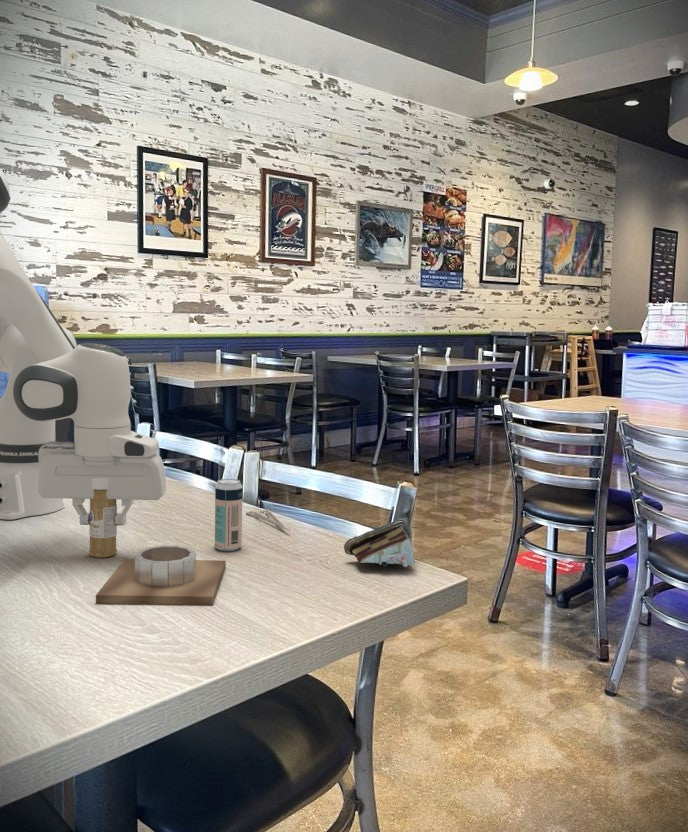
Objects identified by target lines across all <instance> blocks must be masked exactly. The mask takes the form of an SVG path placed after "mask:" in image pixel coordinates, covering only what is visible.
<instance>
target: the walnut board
mask: <svg viewBox="0 0 688 832" xmlns="http://www.w3.org/2000/svg"><path fill="white" fill-rule="evenodd" d="M226 563H227V561H226V560H221V559H220V560H213V559H212V560H211V559H209V560H206V559H205V560H203V559H196V575H195V578H194V579H193V580H192V581H189V582H187V583H185V584H181V585H175V586H169V587H156V586H148V585H144V584H140V583H139V582H138V581H137V580H136V579H135V558H125V559H123V561H122V562H121V563H120V564H119V566H118V567H117V568H116V569H115V571H114V572H113V573H112V574H111V575H110V576H109V578H108V579H107V580H106V582H105V583H104V584H103V585H102V587H101V588H100V589H99V591H97V593H96V594H95V604H103V605H106V604H107V605H108V604H109V605H111V604H112V605H117V604H119V605H121V604H122V605H177V606H179V605H187V606H188V605H189V606H191V605H192V606H194V605H195V606H197V605H198V606H199V605H201V606H213V605H214V604H215V603H214V602H215V599H216V597H217V593H218V591H219V589H220V585H221V582H222V579H223V576H224V573H225V571H226Z"/></svg>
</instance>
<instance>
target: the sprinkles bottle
mask: <svg viewBox="0 0 688 832" xmlns="http://www.w3.org/2000/svg"><path fill="white" fill-rule="evenodd" d="M91 488H92V489H95V490H94V491H93V492H94V497H93V498H92V499H89V513H90V525H89V551H88V553H89V556H91V557H93V558H99V559H100V558H101V559H102V558H107V557H114V556H115V555H117V552H118V549H117V534H118V526H115V515H117V513H118V504H117V499H108V498H107V496H106V492H108V491H107V489H109V480H108V479H106V478H93V479H92V480H91Z"/></svg>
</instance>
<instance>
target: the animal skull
mask: <svg viewBox="0 0 688 832" xmlns="http://www.w3.org/2000/svg"><path fill="white" fill-rule="evenodd" d="M261 512H265V513H266V514H267V515H266V514H265V513H264V514H265V515H266V516H265V515H263V514H262V513H261ZM245 513H246V515H247V516H249V517H253V518H255V519H259V520H262V521H264V522H267V523H270V524H272V525H275V526H277V527H279V528H281V529H283V530H287V531H289V532H290V531H291V529H290V527H288V526H286V525H285V524H284V523H282V522H281V520H279V519H278V518H277V517H276V516H275V515H274V513H272V511H271V510H269V509H268V508H266V509H264V510H261V509H260V510H259V512H257V511H254V510H249V511H246V512H245ZM260 513H261V514H260Z"/></svg>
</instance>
